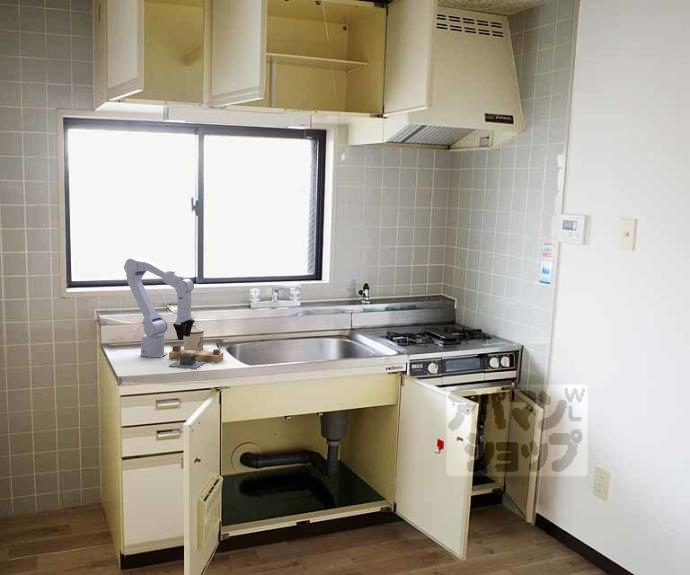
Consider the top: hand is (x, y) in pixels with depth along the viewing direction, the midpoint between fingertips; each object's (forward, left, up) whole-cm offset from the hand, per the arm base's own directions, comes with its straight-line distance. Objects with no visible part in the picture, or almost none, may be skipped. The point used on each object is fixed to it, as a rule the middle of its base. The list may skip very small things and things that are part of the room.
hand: (183, 338), depth 310 cm
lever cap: (+5, -9, -9) cm, 14 cm away
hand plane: (+5, +2, -9) cm, 11 cm away
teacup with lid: (-3, +21, -10) cm, 23 cm away
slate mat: (+5, -9, -9) cm, 14 cm away
